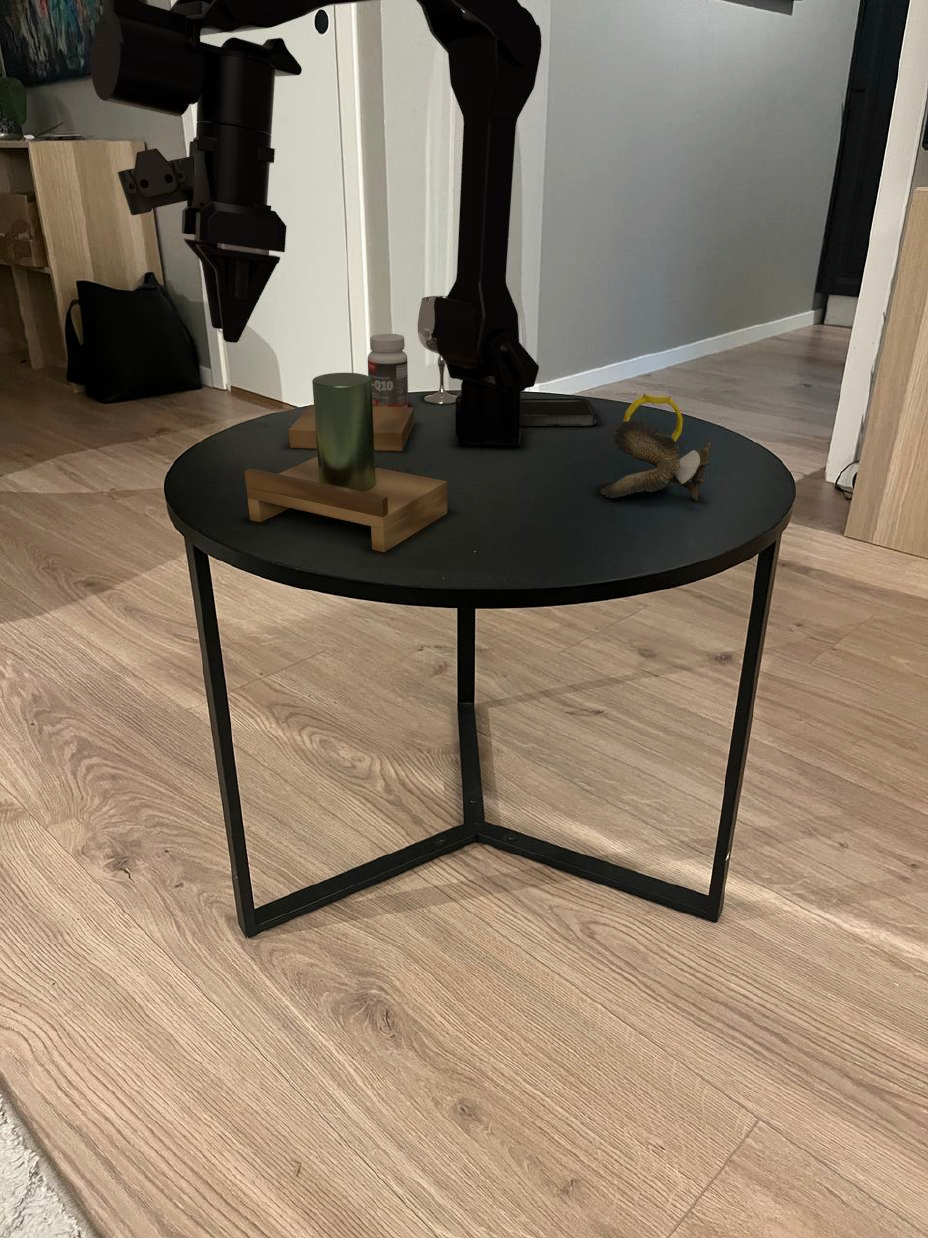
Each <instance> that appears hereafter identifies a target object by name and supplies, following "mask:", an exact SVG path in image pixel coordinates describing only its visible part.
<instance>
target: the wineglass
mask: <svg viewBox="0 0 928 1238" xmlns="http://www.w3.org/2000/svg"><path fill="white" fill-rule="evenodd" d="M447 296H448V295H431V296H425V297H422V298H421V300H420V306H419V309H418V315H417V335H418V340H419V342H420V344H421V345H422V346H423V347H424V348H425V349H426V350H428V351H430V352H432V353H435V354H438V355H439V353H438V350H437V343H436V339H435V338H432V337H431V335H432V332H433V329H434V324H435V313H434V302H435V298H436V297H443V298H446V297H447ZM437 366H438V372H439V389H438V391H437V392H435V393H432V394H428V395H425V397H424V398H423V400H424V401H425V402H427V403H431V404H441V405H445V404H446V405H447V404H453V403H454V404H455V403H456V397H457V394H451V393H448V392H447V391H446V389H445V384H444V383H445V382H444V381H445V380H444V379H445V378H444V377H445V375H444V374H445V368H446V366H447V365H446V362H445V360H444V359H443V358H442V356H441V355H439V356H438V358H437Z"/></svg>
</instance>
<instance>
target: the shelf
mask: <svg viewBox="0 0 928 1238" xmlns="http://www.w3.org/2000/svg"><path fill="white" fill-rule="evenodd" d="M375 477H376V483H375V486H374V487H372V488H371V489H369V490H366V491H357V490H353V489H348V488H343V487H338V486H334V485H329V484H324V483H319V470H318V456H315V457H313V458H310V459H309V460H306V461H304V462H302V463H299V464H297V465H295V466H292V467H290V468H288V469H286V470H283V471H281V472H278V473H276V472H271V471H267V470H262V469H258V468H257V469H256V468H252V467H249V468H247V469H245V470H244V478H245V486H246V495H247V504H248V506H247V507H248V514H249V520H250V521H251V522H256V523H262V522H265V521H266V520H269V519H271V518H273V517H275V516H277V515H279V514H281V513H283V512H285V511H287V510H290V509H293V510H298V511H303V512H307V513H310V514H315V515H319V516H323V517H329V518H333V519H337V520H341V521H346V522H349V523H350V522H351V523H355V524H359V525H363V526H369V527H370V532H371V549H372V550H373V551H377V552H381V553H385V552H387V551H389V550H391V549H392V548H394V547H395V546H397V545H399V544H400V543H402V542H404V541H405V540H407V539H409V538H410V537H411V536H413V535H415V534H416V533H418V532H419V531H421V530H423V529H425V528H426V527H428V526H430V525H431V524H433V523H434V522H436V521H437V520H439V519H441V518H442V517H444V516H446V515H448V481H447V480H442V479H438V478H432V477H427V476H420V475H417V474H411V473H407V472H401V471H396V470H390V469H386V468H382V467H376V466H375Z"/></svg>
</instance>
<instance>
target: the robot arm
mask: <svg viewBox="0 0 928 1238" xmlns="http://www.w3.org/2000/svg"><path fill="white" fill-rule="evenodd" d="M379 1H381V0H176V1H175V2H174V3H173V5H171V7H170V8H169V9H165V8H163V7H158V6H155V5H151V4H148V3H145V2H142V1H140V0H102V13H101V15H100V17H99V19H98V21H97V24H96V27H95V32H94V36H93V45H91V46H90V48H89V64H90V65H89V66H90V76H91V81H92V85H93V88H94V91H95V94H96V95H97V97H98V98H99V99H100V100H102V101H104V102H109V103H112V104H117V105H123V106H127V107H130V108H131V107H132V108H137V109H140V110H146V111H150V112H154V113H159V114H164V115H169V116H174V117H181V116H183V115H184V114H185V113H186V112H187V110H188V109H189V106H190V105H192V106H193V105H195V104H196V126H195V127H196V128H195V137H193V139H192V140H191V141H189V147H188V151H189V152H188V156H186V157H181V158H175V159H171V160H167V159H166V157H164V155H163V153H161V152H160V150H159V149H158V148H157V147H155V148H150V149H145V150H141V151H137V152H136V155H135V160H134V161H135V162H134V167H133V168H126V169H124V170H119V171H117V176H118V180H119V182H120V185H121V188H122V191H123V195H124V198H125V201H126V204H127V206H128V209H129V214H130V215H131V216H137V215H143V214H147V213H151V212H152V211H153V209H155V208H156V209H157V208H161V207H165V206H169V205H174V204H179V203H183V202H186V207H184V208H183V209H182V211H181V234H184V235H190V236H191V235H193V239H192V238H185V237H183V241H184V243H185V244H186V245H187V246H188V247H189V249H190V250H191V251H192V252H193V253H194V254H195V256H196V257H197V258H198V259H199V260H200V263H201V268H202V272H203V274H202V275H203V278H204V285H205V292H206V298H207V303H208V310H209V317H210V324H211V327H212V328H213V329H216V330H217V329H218V330H221V331H222V338H223V340H224V342H226V343H233V344H236V343H239V341H240V339H241V337H242V335H243V332H244V331H245V329H246V326H247V325H248V323H249V320H250V318H251V317H252V315H253V312H254V310H255V308H256V306H257V304H258V302H259V300H260V298H261V296H262V294H263V292H264V290H265V288H266V286H267V285H268V282H269V281H270V278H271V277H272V275H273V272H275V270H276V267H277V265H278V264H279V263H280V261H281V256H278V255H275V254H270V252H278V253H286V242H287V241H286V239H287V228H288V227H287V225H286V224H285V222H284V221H283V220H282V219H281V217H280V216H279V214H278V213H277V212H276V210H272V205H271V204H269V205H268V196H269V181H270V180H269V179H270V164H274V163H275V153H276V149H275V148H274V147H272V131H273V129H272V128H273V115H274V101H275V100H274V99H275V83H276V77H278V78H279V77H295V76H300V75H301V74H302V71H303V69H302V66H301V64H300V63H299V61H298V60H297V59H296V58H295V56H294V55H293V54H292V53H291V52H290V50H289V48H288V47H287V45H286V43H285V40H284V39H283V37H275V38H268V39H266V40H265V41H264V42H263V44H260V43H257V42H253V41H250V40H246V39H243V38H239V37H235V36H232V37H229V38H227V39H226V40H225V41H223V43H222V45H221V46H218V45H214V44H210V43H207V42H203V41H201V37H202V36H209V35H216V34H225V33H226V34H234V33H241V32H250V31H257V30H265V29H271V28H274V27H277V26H281V25H283V24H285V23H288V22H291V21H294V20H296V19H299V18H302V17H305V16H307V15H309V14H311V13H313V12H314V11H317V10H319V9H322V8H325V7H331V6H340V5H341V6H342V5H349V4H361V3H368V2H369V3H370V2H379ZM415 1H416V3H418V4H419V6H420V7H421V10H422V13H423V15H424V18H425V21H426V24H427V27H428V30H429V32H430V34H431V36H432V37H433V38H434V39H435V40H436V41H437V43H439V45H440V46H441V48H442V49H444V51H445V52H446V53H447V60H448V68H449V69H448V71H449V72H448V73H449V84H450V87H451V89H452V91H453V94H454V97H455V99H456V101H457V105H458V107H459V109H460V111H461V115H462V120H463V121H462V123H463V130H462V151H461V172H460V194H459V195H460V196H459V216H458V217H459V218H458V235H457V236H458V238H457V259H456V276H455V281H454V283H453V284H452V286H451V288H450V290H449V292H448V294H447V295H446V296H447V297H446V298H443V297H436V298H435V302H434V313H435V324H434V329H433V332H432V335H431V337H432V338H435V339H436V343H437V350H438V353H439V354H438V353H437V354H438V355H441V356H442V358H443V359H444V360H445V362H446V365H445V366H446V369H447V372H448V375H449V378H450V379H453V380H458V381H459V380H460V381H461V383H460V391H459V392H458V393H457V394H456V396H457V397H456V402H455V436H457V437H459V439H458V446H460V447H480V448H481V447H485V448H486V447H487V448H520V447H521V439H522V438H521V437H522V426H520V409H521V399H522V392H525V391H526V389H528V388H533V387H535V384H536V381H537V377H538V374H539V370H540V366H539V364H538V362H536V361H535V359H534V358H533V357H532V356H531V354H530V353H529V352H528V351H527V350H526V348H525V347H524V346H523V345H522V343H521V342H520V329H519V314H518V313H519V312H518V310H517V307H516V304H515V302H514V300H513V298H512V294H511V293H510V290H509V288H508V284H507V269H508V268H507V267H508V252H509V237H510V222H511V209H512V207H511V206H512V191H513V178H514V163H515V149H516V148H515V146H516V132H517V124H518V119H519V117H520V115H521V113H522V111H523V109H524V107H525V106H526V104H527V102H528V100H529V99H530V96H531V95H532V92H533V91H534V89H535V84H536V79H537V75H538V70H539V64H540V59H541V53H542V47H543V46H542V31H541V27H540V25H539V24H537V22H536V19H535V18H534V16H533V14H532V13H531V12H530V11H529V10H528V9H527V8H526V7H524V6H522V5H521V3H520V1H518V0H415Z"/></svg>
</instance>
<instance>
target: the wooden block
mask: <svg viewBox="0 0 928 1238" xmlns="http://www.w3.org/2000/svg"><path fill="white" fill-rule="evenodd" d="M414 425H415V407H414V406H411V407H410V406H408V407H377V406H373V429H374V451H384V452H385V451H387V452H389V451H390V452H403V450H404V448H405V445H406V443H407V441H408V439H409V437H410V435H411V433H412V430H413V429H414ZM288 441H289V449H313V450H314V449H315V450H317V441H316V427H315V413H314V404H309V405H308V406H307V407H306V409H305V410H303V412H302V413H301V414H300V416H299V417H298V418H297V419H296V420H295V421H294V422H293V424H292V425H291V426H290V427H289V428H288Z"/></svg>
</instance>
